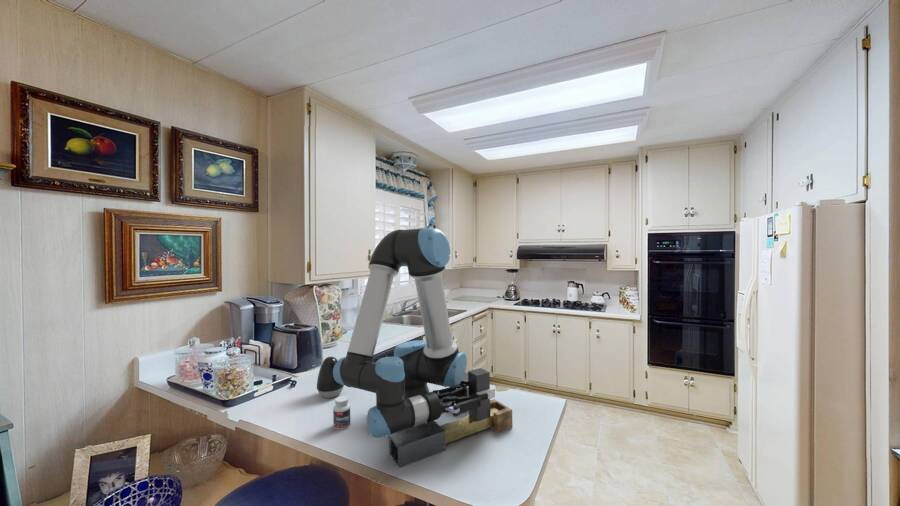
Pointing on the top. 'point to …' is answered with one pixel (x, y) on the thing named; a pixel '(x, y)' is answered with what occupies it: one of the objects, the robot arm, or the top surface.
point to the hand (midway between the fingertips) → (488, 389)
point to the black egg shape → (328, 379)
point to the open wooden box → (501, 416)
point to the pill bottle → (341, 413)
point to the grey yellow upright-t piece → (478, 416)
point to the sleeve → (416, 443)
